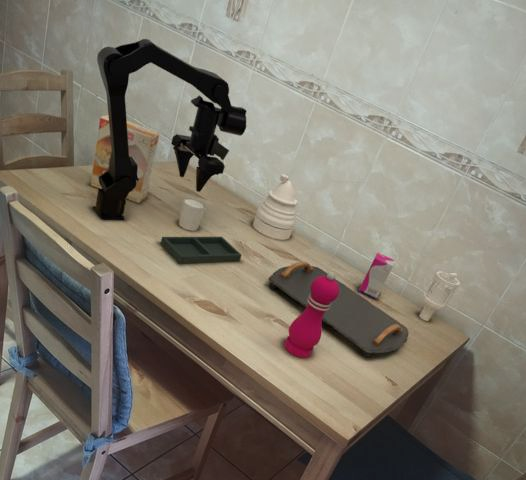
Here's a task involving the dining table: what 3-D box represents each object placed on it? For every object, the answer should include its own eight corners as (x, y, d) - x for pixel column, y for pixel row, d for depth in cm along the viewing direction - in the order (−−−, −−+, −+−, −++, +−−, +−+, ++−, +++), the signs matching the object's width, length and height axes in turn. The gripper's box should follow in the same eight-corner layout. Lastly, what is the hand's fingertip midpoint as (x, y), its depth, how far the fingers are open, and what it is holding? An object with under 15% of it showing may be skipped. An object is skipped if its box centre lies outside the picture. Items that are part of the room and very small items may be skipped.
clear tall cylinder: (439, 322, 151) (466, 280, 143) (427, 326, 146) (454, 282, 138) (420, 309, 154) (446, 267, 146) (408, 312, 149) (434, 268, 141)
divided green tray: (179, 264, 127) (181, 256, 126) (160, 243, 132) (161, 236, 131) (239, 261, 139) (241, 254, 138) (219, 243, 145) (222, 236, 144)
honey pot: (258, 235, 159) (277, 180, 149) (248, 217, 168) (266, 164, 158) (294, 242, 164) (315, 190, 154) (283, 225, 173) (302, 174, 164)
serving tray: (256, 281, 133) (263, 260, 130) (306, 269, 150) (314, 250, 147) (372, 368, 117) (384, 347, 114) (414, 344, 134) (425, 325, 131)
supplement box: (378, 292, 154) (395, 259, 148) (375, 300, 149) (393, 266, 143) (361, 284, 154) (377, 251, 148) (357, 291, 149) (375, 257, 143)
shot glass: (201, 226, 150) (208, 204, 146) (197, 234, 145) (203, 211, 141) (179, 218, 150) (185, 195, 146) (174, 225, 144) (179, 202, 140)
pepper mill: (280, 336, 115) (313, 259, 105) (310, 343, 117) (345, 268, 106) (284, 355, 110) (319, 276, 99) (314, 362, 111) (352, 285, 101)
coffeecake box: (89, 185, 147) (99, 116, 136) (99, 179, 153) (109, 112, 142) (138, 204, 148) (152, 137, 137) (147, 197, 154) (160, 132, 143)
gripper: (248, 145, 132) (230, 201, 141) (211, 118, 142) (197, 172, 151) (213, 139, 125) (197, 198, 134) (177, 112, 135) (164, 168, 144)
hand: (189, 184), depth 141 cm, fingers open, 9 cm apart
